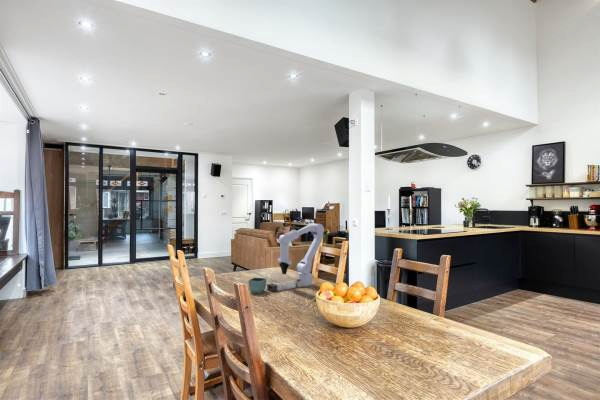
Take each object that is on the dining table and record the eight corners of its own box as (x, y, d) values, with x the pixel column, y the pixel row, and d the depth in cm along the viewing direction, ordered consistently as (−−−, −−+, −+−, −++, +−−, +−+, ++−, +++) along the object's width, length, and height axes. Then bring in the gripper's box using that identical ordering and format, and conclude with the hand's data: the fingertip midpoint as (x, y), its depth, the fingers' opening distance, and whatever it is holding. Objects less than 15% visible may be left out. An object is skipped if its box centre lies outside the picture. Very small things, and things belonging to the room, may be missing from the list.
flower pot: (247, 295, 205) (247, 280, 205) (253, 291, 213) (254, 277, 214) (261, 296, 203) (261, 281, 203) (266, 292, 211) (266, 278, 211)
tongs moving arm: (293, 287, 220) (293, 281, 220) (295, 287, 218) (295, 282, 218) (269, 291, 209) (269, 285, 209) (271, 291, 207) (271, 286, 208)
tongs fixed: (298, 285, 226) (298, 278, 226) (302, 286, 222) (302, 279, 222) (267, 290, 212) (267, 282, 212) (270, 291, 208) (270, 284, 208)
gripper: (273, 252, 224) (273, 272, 224) (285, 255, 212) (285, 276, 212) (282, 251, 228) (282, 271, 228) (294, 254, 216) (294, 275, 216)
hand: (284, 274), depth 220 cm, fingers closed
